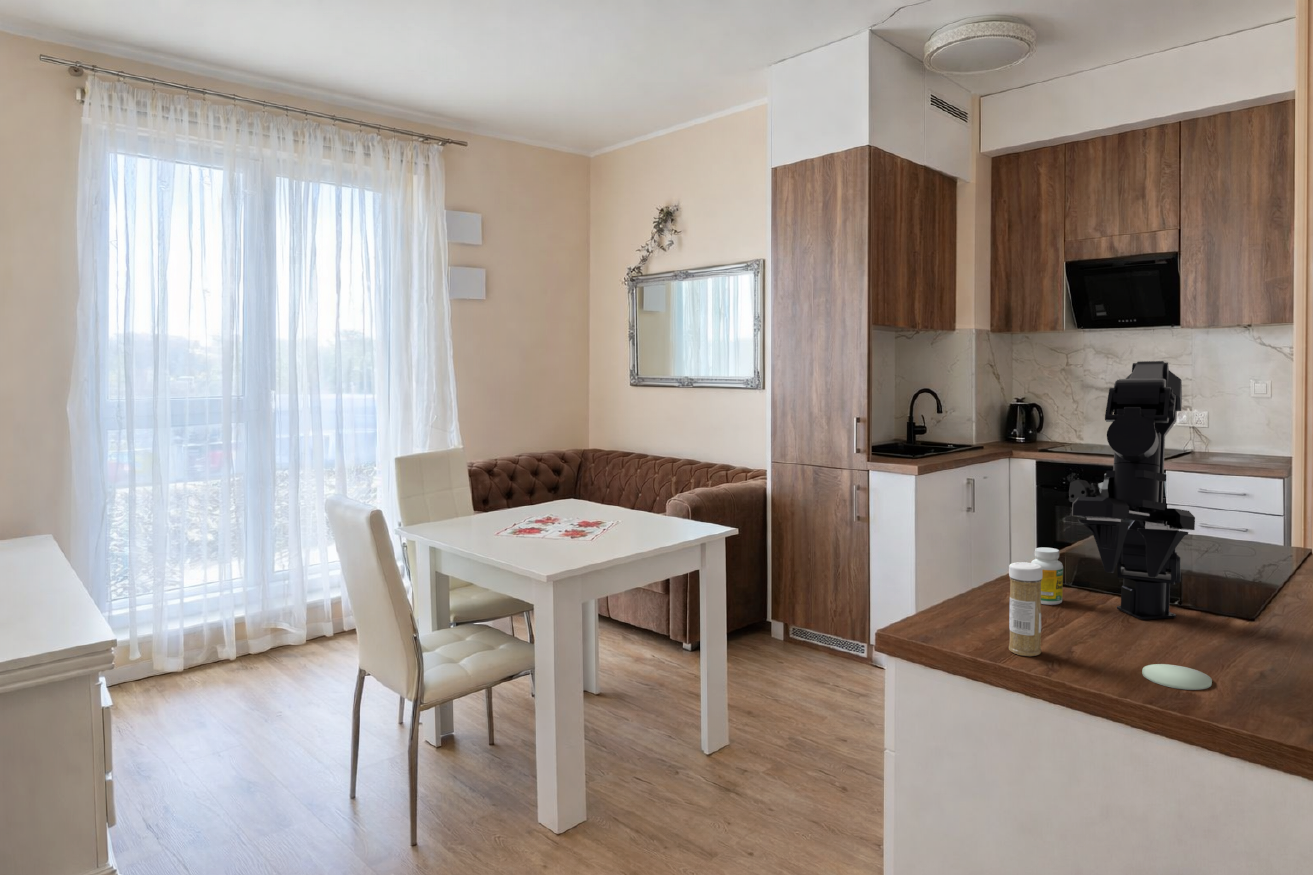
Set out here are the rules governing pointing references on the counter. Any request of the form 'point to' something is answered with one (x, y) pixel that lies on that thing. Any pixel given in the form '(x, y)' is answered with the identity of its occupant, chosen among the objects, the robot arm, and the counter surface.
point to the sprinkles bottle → (1025, 608)
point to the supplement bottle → (1050, 575)
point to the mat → (1177, 676)
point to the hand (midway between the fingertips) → (1131, 574)
